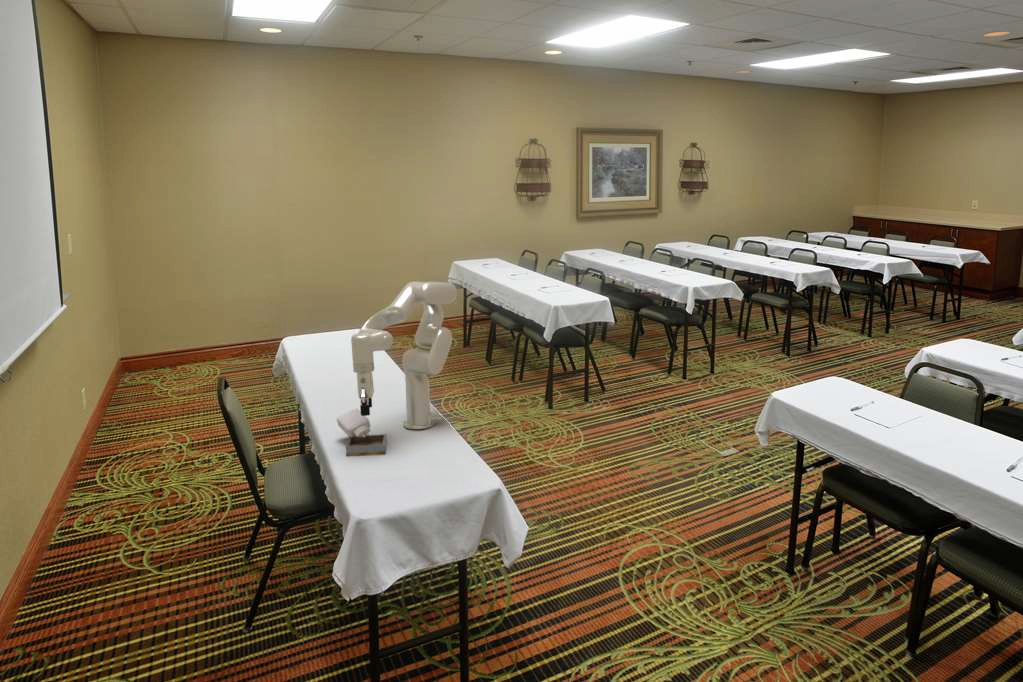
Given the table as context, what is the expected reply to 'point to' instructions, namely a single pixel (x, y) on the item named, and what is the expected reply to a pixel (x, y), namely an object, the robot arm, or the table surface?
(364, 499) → the table surface
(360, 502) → the table surface
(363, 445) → the tray
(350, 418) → the charger
